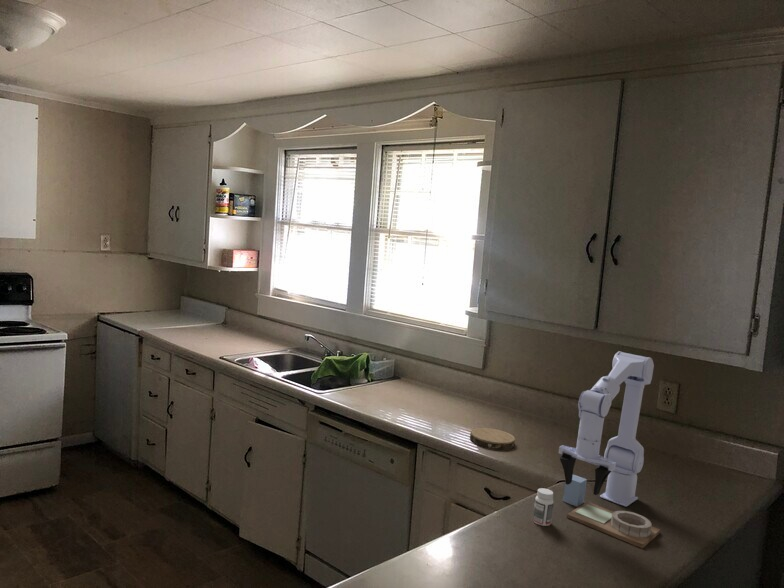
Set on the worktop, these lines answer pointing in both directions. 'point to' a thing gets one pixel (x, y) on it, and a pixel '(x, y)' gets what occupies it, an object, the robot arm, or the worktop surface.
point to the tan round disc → (492, 438)
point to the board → (610, 529)
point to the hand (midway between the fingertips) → (582, 488)
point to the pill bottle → (543, 507)
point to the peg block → (575, 491)
